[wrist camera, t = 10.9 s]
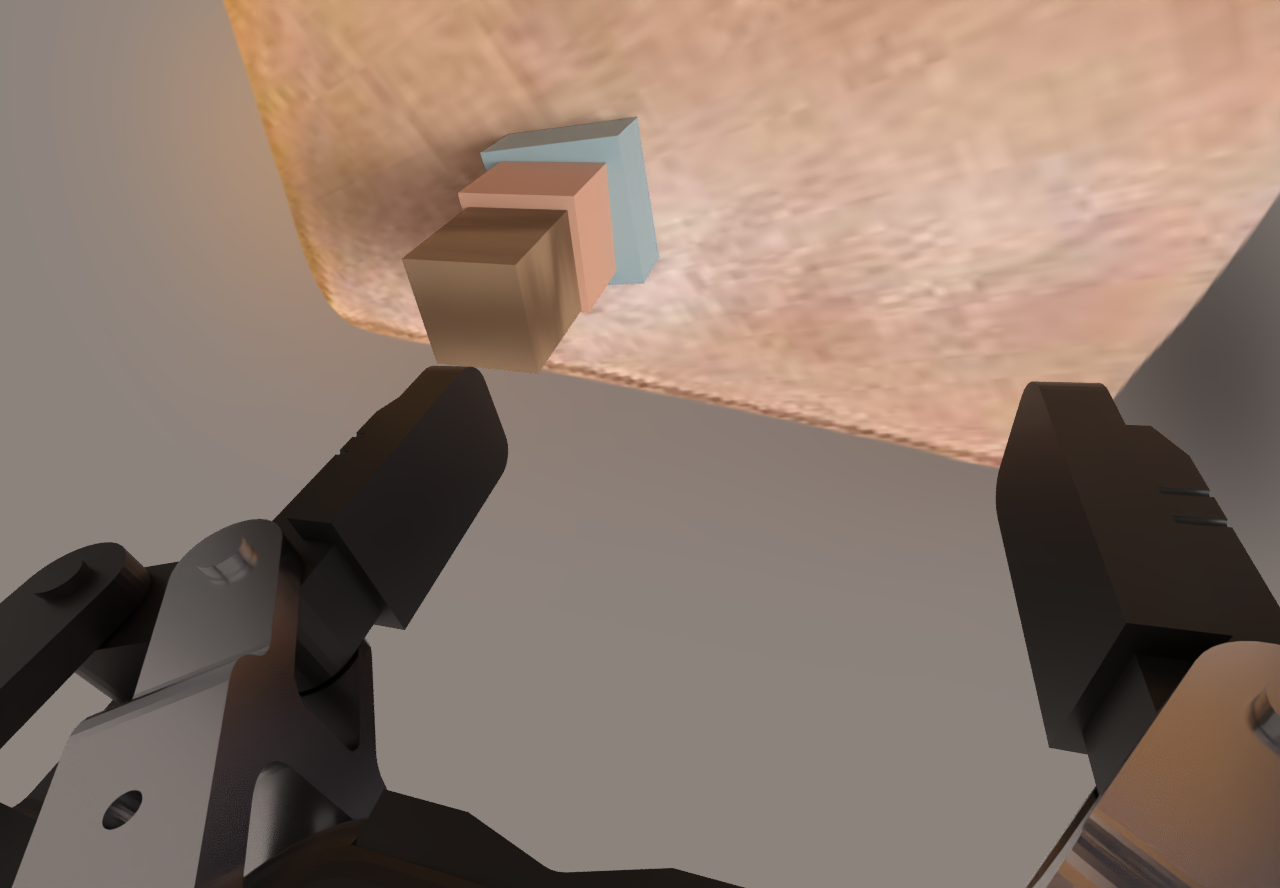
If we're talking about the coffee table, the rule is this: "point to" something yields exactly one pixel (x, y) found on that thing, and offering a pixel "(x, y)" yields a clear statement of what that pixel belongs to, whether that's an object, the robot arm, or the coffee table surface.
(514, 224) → the walnut block
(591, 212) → the tower top
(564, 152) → the tower base
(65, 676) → the robot arm
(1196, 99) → the coffee table surface
